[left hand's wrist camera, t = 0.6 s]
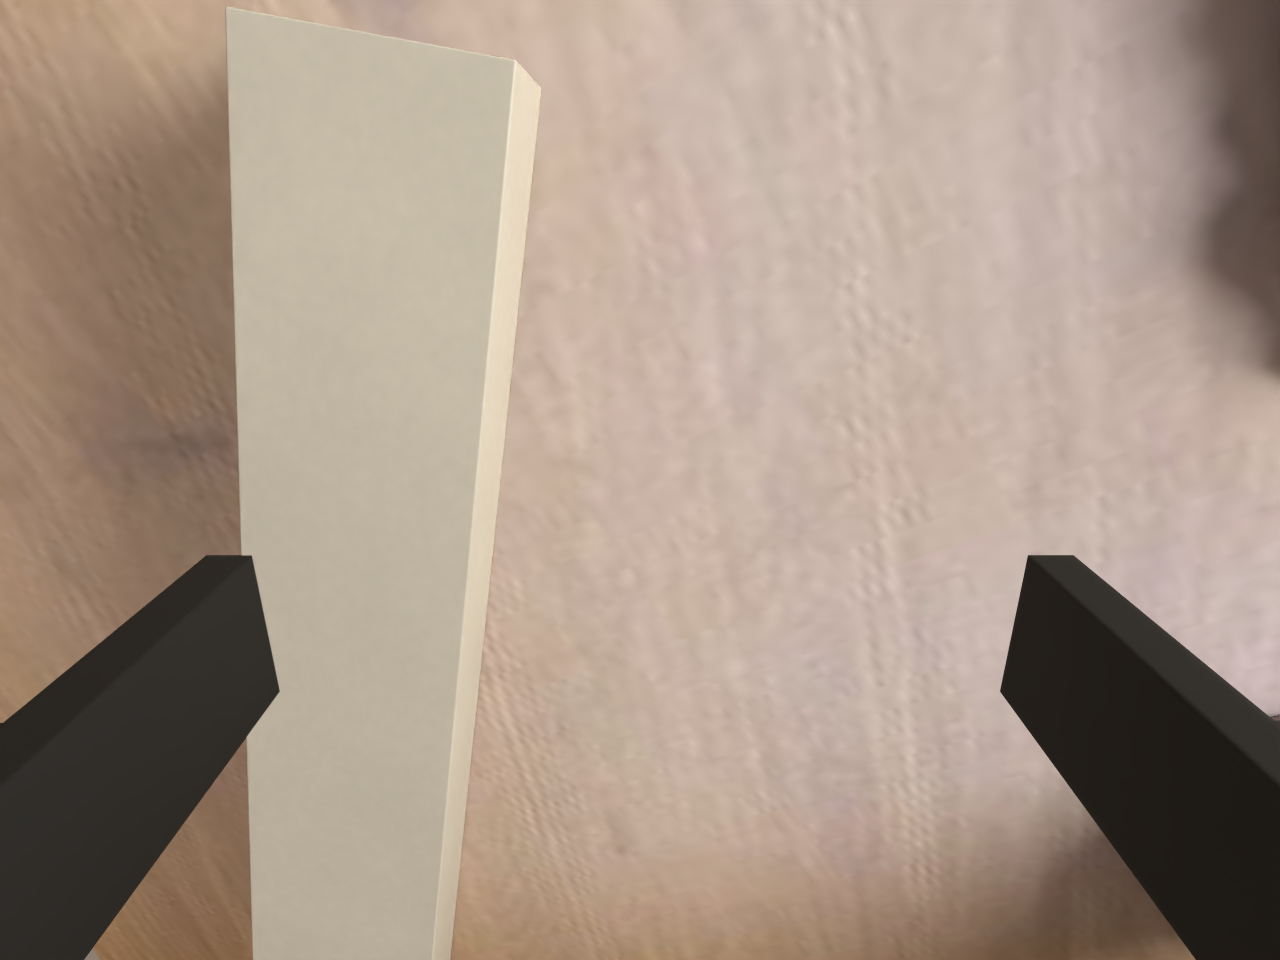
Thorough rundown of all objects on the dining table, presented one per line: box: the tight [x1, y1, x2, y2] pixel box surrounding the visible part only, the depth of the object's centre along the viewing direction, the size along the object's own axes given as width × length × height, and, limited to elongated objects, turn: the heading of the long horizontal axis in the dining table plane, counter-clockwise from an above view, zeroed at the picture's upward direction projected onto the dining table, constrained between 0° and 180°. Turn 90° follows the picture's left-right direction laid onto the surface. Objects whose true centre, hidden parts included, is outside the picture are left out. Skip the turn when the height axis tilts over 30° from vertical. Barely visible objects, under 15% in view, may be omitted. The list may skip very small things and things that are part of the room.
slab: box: [225, 7, 541, 960], centre depth 37 cm, size 55×10×7 cm, turn 171°
